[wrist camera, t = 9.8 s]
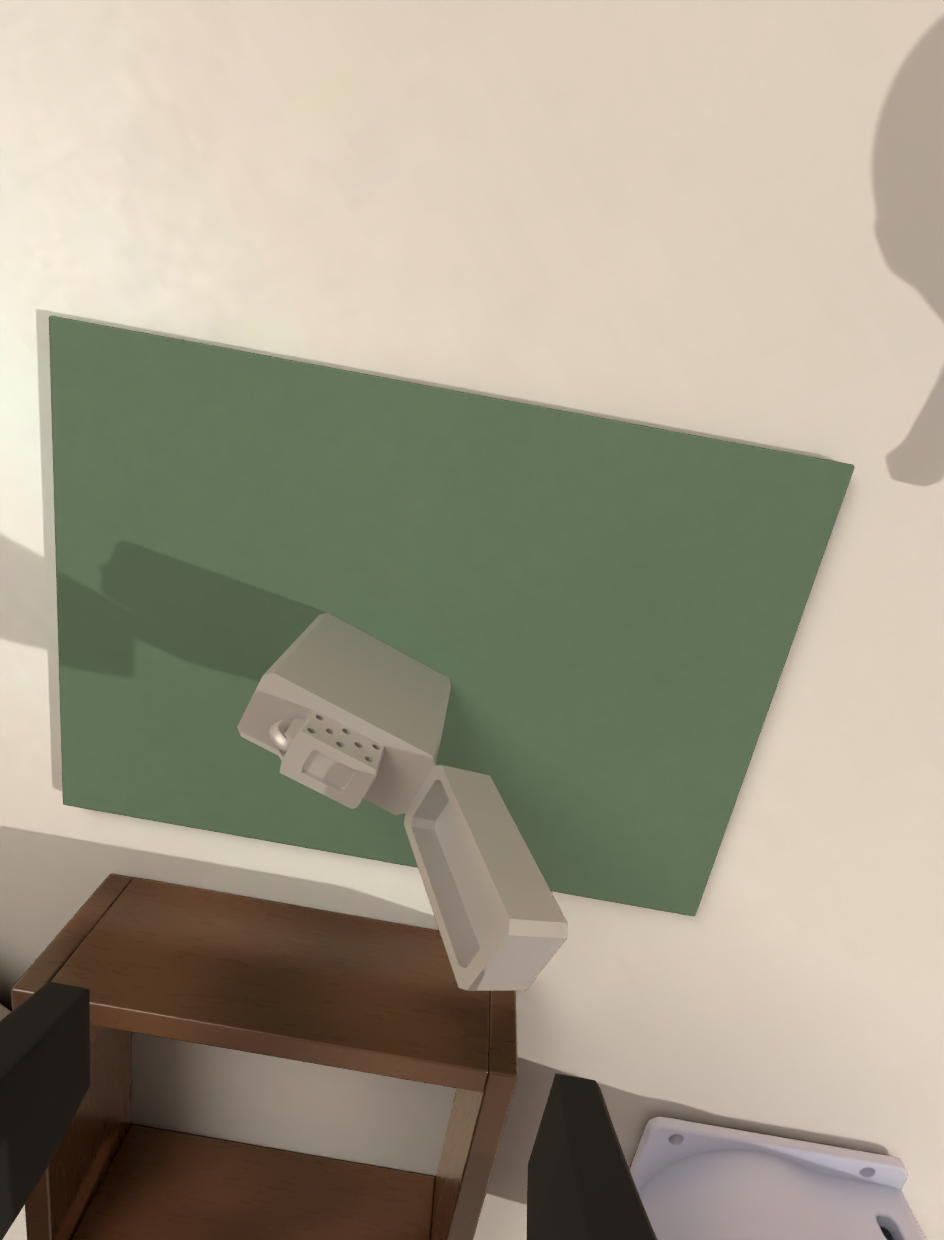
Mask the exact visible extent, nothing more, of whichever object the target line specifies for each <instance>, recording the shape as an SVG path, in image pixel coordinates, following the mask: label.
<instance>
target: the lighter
mask: <svg viewBox="0 0 944 1240" xmlns="http://www.w3.org/2000/svg"><path fill="white" fill-rule="evenodd" d="M450 690H451V684H450V680H449V678H448V677H446V676H444V675H442V674H440V673H439V672H437V671H435V670H433V669H431V668H429V667H427V666H426V665H424V664H422V663H420V662H418V661H416V660H414V659H413V658H411V657H409V656H407V655H405V654H403V653H402V652H400V651H398V650H396V649H394V648H392V647H390V646H389V645H387V644H385V643H383V642H381V641H379V640H378V639H376V638H374V637H372V636H370V635H368V634H366V633H365V632H363V631H361V630H359V629H357V628H355V627H354V626H352V625H350V624H348V623H346V622H344V621H342V620H341V619H339V618H337V617H335V616H333V615H331V614H329V613H324V614H320V615H319V616H318V617H317V618H316V619H315V620H314V621H313V622H312V623H311V624H310V625H309V626H308V627H307V629H306V630H305V631H304V632H303V633H302V634H301V635H300V636H299V637H298V638H297V639H296V640H295V641H294V643H293V644H292V645H291V646H290V647H289V648H288V649H287V650H286V651H285V652H284V653H283V654H282V655H281V657H280V658H279V659H278V660H277V661H276V662H275V663H274V664H273V665H272V666H271V667H270V668H269V669H268V670H267V672H266V673H265V674H264V675H263V676H262V678H261V680H260V682H259V684H258V686H257V688H256V690H255V692H254V694H253V696H252V698H251V700H250V702H249V704H248V706H247V708H246V710H245V712H244V714H243V716H242V718H241V720H240V722H239V724H238V726H237V728H238V730H239V732H240V735H241V737H243V738H245V739H247V740H249V741H251V742H253V743H255V744H257V745H259V746H261V747H263V748H265V749H267V750H269V751H270V752H272V753H274V754H276V755H278V756H279V757H280V759H281V761H282V762H281V767H280V773H281V774H283V775H285V776H287V777H289V778H291V779H293V780H295V781H297V782H299V783H301V784H303V785H305V786H307V787H309V788H311V789H313V790H315V791H317V792H319V793H321V794H323V795H325V796H327V797H329V798H331V799H333V800H335V801H337V802H339V803H341V804H343V805H345V806H347V807H349V808H351V809H354V808H356V807H358V805H359V804H360V802H361V800H362V799H365V800H367V801H369V802H371V803H373V804H375V805H377V806H379V807H381V808H383V809H385V810H387V811H389V812H391V813H393V814H395V815H399V814H403V813H405V819H404V826H405V829H406V832H407V835H408V838H409V841H410V844H411V847H412V850H413V853H414V856H415V859H416V862H417V865H418V868H419V871H420V874H421V877H422V880H423V883H424V886H425V889H426V892H427V895H428V898H429V901H430V904H431V907H432V910H433V913H434V916H435V919H436V922H437V925H438V928H439V931H440V934H441V937H442V940H443V943H444V946H445V949H446V952H447V955H448V958H449V961H450V964H451V967H452V970H453V972H454V975H455V978H456V981H457V984H458V987H459V988H461V989H464V990H467V991H494V990H526V989H527V988H528V987H529V986H530V984H531V983H532V982H533V980H534V979H535V978H536V977H537V975H538V974H539V973H540V972H541V970H542V969H543V968H544V967H545V965H546V964H547V963H548V962H549V960H550V959H551V958H552V957H553V955H554V954H555V953H556V952H557V950H558V949H559V948H560V946H561V945H562V944H563V943H564V941H565V940H566V939H567V925H568V923H567V921H566V919H565V917H564V915H563V913H562V911H561V910H560V908H559V906H558V904H557V902H556V900H555V898H554V896H553V894H552V892H551V891H550V889H549V887H548V885H547V883H546V881H545V879H544V877H543V875H542V873H541V872H540V870H539V868H538V866H537V864H536V862H535V860H534V858H533V856H532V854H531V853H530V851H529V849H528V847H527V845H526V843H525V841H524V839H523V837H522V835H521V834H520V832H519V830H518V828H517V826H516V824H515V822H514V820H513V818H512V817H511V815H510V813H509V811H508V809H507V807H506V805H505V803H504V801H503V799H502V798H501V796H500V794H499V792H498V790H497V788H496V786H495V784H494V782H493V780H492V779H491V777H490V775H485V774H480V773H476V772H471V771H467V770H462V769H458V768H453V767H449V766H444V765H436V763H437V758H438V752H439V747H440V742H441V737H442V731H443V726H444V721H445V716H446V711H447V705H448V700H449V695H450Z"/></svg>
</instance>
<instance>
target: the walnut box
mask: <svg viewBox="0 0 944 1240" xmlns="http://www.w3.org/2000/svg"><path fill="white" fill-rule="evenodd" d="M49 982H55V983H60V984H66V985H71V986H77V987H82V988H88V989H90V1087H89V1089H88V1091H87V1093H86V1095H85V1097H84V1098H83V1100H82V1102H81V1104H80V1106H79V1108H78V1110H77V1112H76V1114H75V1116H74V1118H73V1120H72V1122H71V1124H70V1126H69V1128H68V1130H67V1132H66V1134H65V1136H64V1137H63V1139H62V1141H61V1143H60V1145H59V1147H58V1149H57V1150H56V1152H55V1154H54V1156H53V1158H52V1160H51V1162H50V1164H49V1165H48V1167H47V1169H46V1171H45V1172H44V1174H43V1176H42V1177H41V1179H40V1180H39V1182H38V1184H37V1185H36V1187H35V1188H34V1190H33V1192H32V1193H31V1195H30V1196H29V1198H28V1200H27V1201H26V1203H25V1213H26V1228H27V1240H473V1239H474V1235H475V1231H476V1228H477V1224H478V1220H479V1217H480V1213H481V1209H482V1206H483V1202H484V1198H485V1195H486V1191H487V1187H488V1184H489V1180H490V1177H491V1173H492V1169H493V1166H494V1162H495V1158H496V1155H497V1151H498V1147H499V1144H500V1140H501V1136H502V1133H503V1129H504V1125H505V1122H506V1118H507V1115H508V1111H509V1107H510V1104H511V1100H512V1096H513V1093H514V1089H515V1085H516V1082H517V1078H518V1064H517V1024H516V990H494V991H467V990H464V989H461V988H459V987H458V984H457V981H456V978H455V975H454V972H453V970H452V967H451V964H450V961H449V958H448V955H447V952H446V949H445V946H444V943H443V940H442V937H441V934H440V931H437V930H431V929H426V928H420V927H414V926H408V925H403V924H397V923H391V922H386V921H380V920H374V919H369V918H363V917H357V916H352V915H346V914H340V913H335V912H329V911H323V910H318V909H312V908H306V907H301V906H295V905H289V904H284V903H278V902H272V901H267V900H261V899H255V898H250V897H244V896H238V895H232V894H227V893H221V892H215V891H210V890H204V889H198V888H193V887H187V886H181V885H176V884H170V883H164V882H159V881H153V880H147V879H142V878H136V877H135V878H132V877H128V876H122V875H116V874H110V875H109V876H108V877H107V878H106V879H105V880H104V882H103V883H102V884H101V885H100V886H99V887H98V889H97V890H96V891H95V892H94V893H93V894H92V896H91V897H90V898H89V899H88V900H87V901H86V902H85V904H84V905H83V906H82V907H81V908H80V909H79V911H78V912H77V913H76V914H75V915H74V916H73V918H72V919H71V920H70V921H69V922H68V923H67V925H66V926H65V927H64V928H63V929H62V930H61V932H60V933H59V934H58V935H57V936H56V937H55V939H54V940H53V941H52V942H51V943H50V944H49V945H48V947H47V948H46V949H45V950H44V951H43V952H42V954H41V955H40V956H39V957H38V958H37V959H36V961H35V962H34V963H33V964H32V965H31V966H30V968H29V969H28V970H27V971H26V972H25V973H24V975H23V976H22V977H21V978H20V979H19V980H18V982H17V983H16V984H15V985H14V986H13V988H12V990H11V999H12V1011H13V1010H14V1009H15V1008H16V1007H18V1006H19V1005H20V1004H21V1003H22V1002H24V1001H25V1000H26V999H27V998H29V997H30V996H31V995H32V994H34V993H35V992H36V991H37V990H39V989H40V988H41V987H42V986H44V985H45V984H47V983H49ZM131 1032H136V1033H142V1034H148V1035H153V1036H159V1037H165V1038H171V1039H176V1040H182V1041H188V1042H194V1043H200V1044H205V1045H211V1046H217V1047H223V1048H228V1049H234V1050H240V1051H246V1052H251V1053H257V1054H263V1055H269V1056H275V1057H280V1058H286V1059H292V1060H298V1061H303V1062H309V1063H315V1064H321V1065H326V1066H332V1067H338V1068H344V1069H350V1070H355V1071H361V1072H367V1073H373V1074H378V1075H384V1076H390V1077H396V1078H401V1079H407V1080H413V1081H419V1082H425V1083H430V1084H436V1085H442V1086H448V1087H453V1088H457V1089H456V1093H455V1098H454V1102H453V1106H452V1111H451V1115H450V1119H449V1123H448V1128H447V1132H446V1136H445V1140H444V1145H443V1149H442V1153H441V1157H440V1162H439V1166H438V1170H437V1174H436V1179H435V1177H434V1176H428V1175H422V1174H416V1173H411V1172H405V1171H399V1170H393V1169H387V1168H381V1167H376V1166H370V1165H364V1164H358V1163H352V1162H346V1161H341V1160H335V1159H329V1158H323V1157H317V1156H312V1155H306V1154H300V1153H294V1152H288V1151H282V1150H277V1149H271V1148H265V1147H259V1146H253V1145H247V1144H242V1143H236V1142H230V1141H224V1140H218V1139H212V1138H207V1137H201V1136H195V1135H189V1134H183V1133H178V1132H172V1131H166V1130H160V1129H154V1128H148V1127H143V1126H137V1125H131V1126H130V1077H131Z"/></svg>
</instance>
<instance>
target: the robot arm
mask: <svg viewBox="0 0 944 1240" xmlns="http://www.w3.org/2000/svg"><path fill="white" fill-rule="evenodd" d="M89 1087H90V989H88V988H82V987H77V986H71V985H66V984H60V983H55V982H49V983H47V984H45V985H44V986H42V987H41V988H40V989H39V990H37V991H36V992H35V993H34V994H32V995H31V996H30V997H29V998H27V999H26V1000H25V1001H24V1002H22V1003H21V1004H20V1005H19V1006H18V1007H16V1008H15V1009H14V1010H13V1011H11V1012H10V1013H9V1014H8V1015H6V1016H5V1017H4V1018H3V1019H1V1020H0V1240H2V1239H3V1238H4V1236H5V1234H6V1233H7V1231H8V1230H9V1228H10V1226H11V1225H12V1223H13V1222H14V1220H15V1219H16V1217H17V1215H18V1214H19V1212H20V1211H21V1209H22V1208H23V1206H24V1204H25V1203H26V1201H27V1200H28V1198H29V1196H30V1195H31V1193H32V1192H33V1190H34V1188H35V1187H36V1185H37V1184H38V1182H39V1180H40V1179H41V1177H42V1176H43V1174H44V1172H45V1171H46V1169H47V1167H48V1165H49V1164H50V1162H51V1160H52V1158H53V1156H54V1154H55V1152H56V1150H57V1149H58V1147H59V1145H60V1143H61V1141H62V1139H63V1137H64V1136H65V1134H66V1132H67V1130H68V1128H69V1126H70V1124H71V1122H72V1120H73V1118H74V1116H75V1114H76V1112H77V1110H78V1108H79V1106H80V1104H81V1102H82V1100H83V1098H84V1097H85V1095H86V1093H87V1091H88V1089H89ZM907 1176H908V1173H907V1170H906V1168H905V1166H904V1165H903V1163H902V1161H901V1160H900V1159H898V1158H896V1157H893V1156H887V1155H881V1154H875V1153H870V1152H864V1151H858V1150H852V1149H846V1148H841V1147H835V1146H829V1145H823V1144H818V1143H812V1142H806V1141H800V1140H795V1139H789V1138H783V1137H777V1136H772V1135H766V1134H760V1133H754V1132H748V1131H743V1130H737V1129H731V1128H725V1127H720V1126H714V1125H708V1124H702V1123H697V1122H691V1121H685V1120H679V1119H674V1118H668V1117H654V1118H652V1119H651V1120H649V1122H648V1123H647V1125H646V1127H645V1130H644V1133H643V1135H642V1138H641V1141H640V1143H639V1146H638V1149H637V1151H636V1154H635V1157H634V1159H633V1162H632V1165H631V1167H630V1170H629V1167H628V1165H627V1162H626V1160H625V1157H624V1154H623V1151H622V1149H621V1146H620V1143H619V1141H618V1138H617V1135H616V1132H615V1130H614V1127H613V1124H612V1121H611V1118H610V1115H609V1112H608V1110H607V1107H606V1104H605V1101H604V1098H603V1095H602V1092H601V1089H600V1087H599V1085H598V1084H597V1083H596V1081H595V1080H589V1079H584V1078H578V1077H573V1076H567V1075H562V1074H555V1078H554V1081H553V1084H552V1087H551V1091H550V1094H549V1097H548V1101H547V1104H546V1107H545V1110H544V1114H543V1117H542V1120H541V1124H540V1127H539V1130H538V1133H537V1137H536V1140H535V1143H534V1146H533V1150H532V1153H531V1156H530V1160H529V1163H528V1190H527V1240H926V1238H925V1236H924V1234H923V1232H922V1230H921V1228H920V1226H919V1224H918V1222H917V1220H916V1218H915V1216H914V1215H913V1213H912V1211H911V1209H910V1207H909V1205H908V1203H907V1201H906V1199H905V1197H904V1195H903V1193H902V1191H901V1188H902V1186H903V1185H904V1183H905V1181H906V1180H907Z"/></svg>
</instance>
